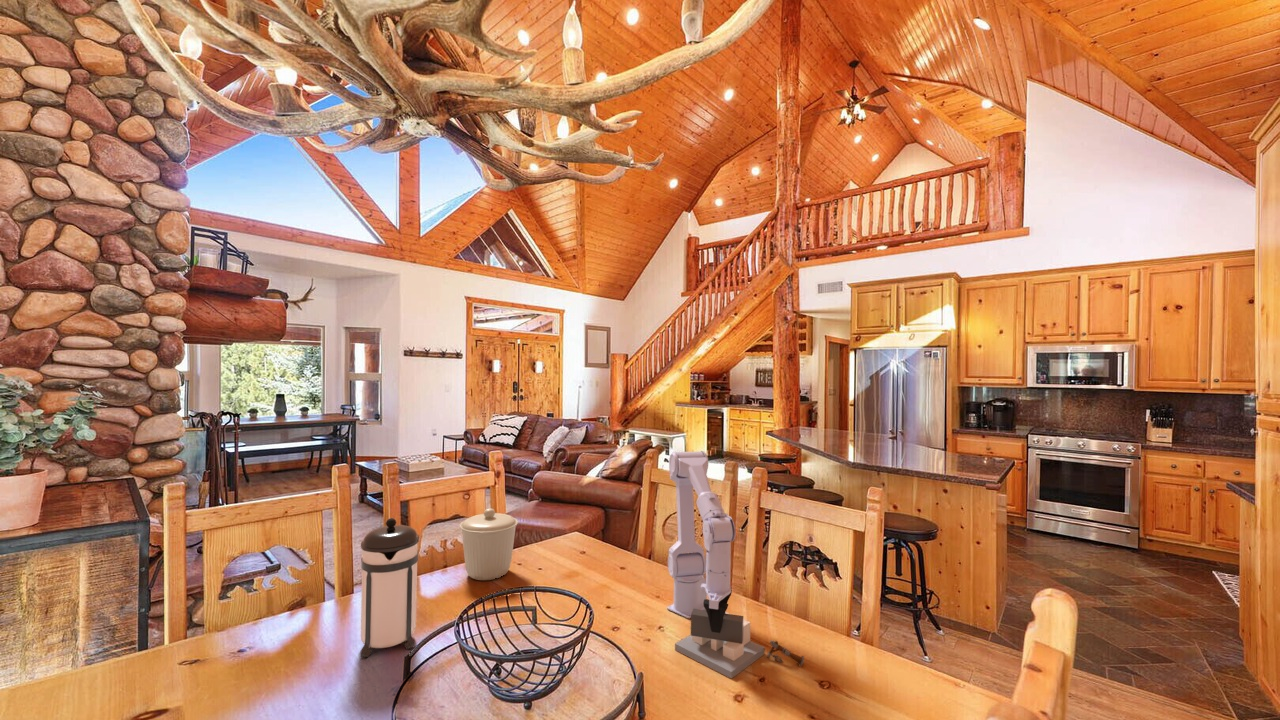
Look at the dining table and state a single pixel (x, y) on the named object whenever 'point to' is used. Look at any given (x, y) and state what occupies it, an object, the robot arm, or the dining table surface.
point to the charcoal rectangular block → (729, 630)
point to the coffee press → (389, 587)
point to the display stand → (722, 652)
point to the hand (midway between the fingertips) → (717, 626)
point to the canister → (488, 544)
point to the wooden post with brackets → (785, 651)
